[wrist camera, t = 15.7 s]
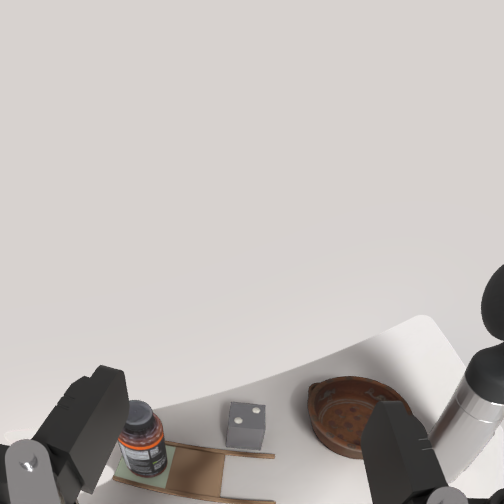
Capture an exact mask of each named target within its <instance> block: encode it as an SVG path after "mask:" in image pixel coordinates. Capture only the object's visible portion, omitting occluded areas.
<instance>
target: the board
mask: <svg viewBox="0 0 504 504" xmlns="http://www.w3.org/2000/svg"><path fill="white" fill-rule="evenodd" d="M165 447H166V453H167V460H168V463H167V467H166V469H165V470H164V472H163V473H161V474H160V475H158V476H155V477H152V478H144V477H140V476H137V475H135V474H133V473H132V472H131V471H130V470H129V469H128V467H127V465H126V463H125V460H124V458H123V455H122V457H121V460H120V462H119V465H118V467H117V470H116V472H115V475H113V480H115V481H119V482H122V483H125V484H129V485H133V486H136V487H140V488H144V489H148V490H153V491H157V492H161V493H166V494H171V495H176V496H181V497H187V498H193V499H199V500H206V501H214V502H222V503H231V504H276V502H268V501H250V500H238V499H227V498H220V492H221V484H222V475H223V467H224V459H225V455H232V456H242V457H254V458H268V459H274V458H275V454H260V453H247V452H237V451H228V450H219V449H212V448H205V447H198V446H192V445H186V444H180V443H175V442H170V441H165Z"/></svg>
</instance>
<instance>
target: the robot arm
mask: <svg viewBox="0 0 504 504" xmlns="http://www.w3.org/2000/svg"><path fill="white" fill-rule="evenodd" d="M481 314H482V319H483V322H484V325H485V327H486V329H487V330H488V331H489V333H490V334H491V335H492V336H494V337H496V338H497V339H500V340H503V341H504V265H502V266H501V267H500V268H499V269H498V270H497V271H496V272H495V273H494V274H493V276H492V277H491V279H490V280H489V282H488V284H487V286H486V288H485V291H484V293H483V297H482V302H481ZM129 409H130V404H129V398H128V392H127V387H126V381H125V375H124V372H123V371H122V370H118V369H114V368H110V367H107V366H103V365H100V366H99V367H98V368H97V369H96V370H95V372H94V373H93V375H92V376H91V377H90V378H89V377H86V376H83V377H82V378H80V379H78V380H77V381H75V382H74V383H72V384H71V385H70V387H69V388H68V389H67V391H66V392H65V394H64V396H63V397H62V398H61V399H60V400H59V402H58V403H57V406H55V407H54V409H53V410H52V411H51V413H50V414H49V416H48V417H47V418H46V420H45V421H44V423H43V424H42V425H41V427H40V428H39V430H38V431H37V433H36V434H35V435H34V437H33V438H32V439H31V440H29V439H24V440H19V441H16V442H15V443H13V444H12V445H11V446H7V445H2V444H0V504H79V503H78V500H77V497H78V494H79V492H80V490H82V491H84V492H87V493H90V494H92V493H93V491H94V489H95V487H96V485H97V482H98V480H99V478H100V476H101V474H102V472H103V469H104V467H105V465H106V463H107V461H108V459H109V457H110V455H111V452H112V450H113V448H114V446H115V444H116V442H117V440H118V438H119V436H120V434H121V431H122V429H123V427H124V425H125V423H126V421H127V419H128V415H129ZM503 419H504V342H503V343H501V344H499V345H496V346H493V347H490V348H486V349H483V350H480V351H479V352H477V353H476V354H475V355H474V356H473V358H472V359H471V361H470V363H469V365H468V367H467V369H466V371H465V373H464V375H463V377H462V379H461V381H460V383H459V385H458V386H457V388H456V390H455V392H454V394H453V396H452V397H451V399H450V401H449V403H448V404H447V406H446V408H445V409H444V411H443V413H442V414H441V416H440V418H439V419H438V421H437V422H436V424H435V426H434V427H433V429H432V430H431V432H430V433H429V435H427V433H426V430H425V428H424V426H423V424H422V423H421V422H420V421H419V420H418V419H417V418H416V417H415V416H414V415H408V413H407V411H406V409H405V406H404V404H403V403H402V402H401V401H379V402H377V404H376V405H375V407H374V409H373V412H372V414H371V416H370V418H369V420H368V422H367V424H366V426H365V428H364V430H363V432H362V435H361V451H362V455H363V460H364V464H365V469H366V473H367V478H368V483H369V487H370V492H371V497H372V502H373V504H504V488H503V489H500V490H498V491H497V492H495V493H494V494H493V495H492V496H491V497H490V498H489V499H476V498H466V496H465V495H464V493H462V492H461V491H460V490H458V489H456V488H453V487H449V486H448V484H447V483H450V482H452V481H454V480H455V479H456V478H457V477H458V476H459V475H460V474H461V473H462V472H463V471H465V470H466V469H467V468H468V467H469V465H470V464H471V463H472V462H473V461H474V459H475V458H476V457H477V456H478V455H479V453H480V452H481V451H482V450H483V448H484V447H485V446H486V445H487V443H488V442H489V441H490V439H491V438H492V437H493V435H494V433H495V430H496V429H497V427H498V426H499V424H500V423H501V421H502V420H503Z"/></svg>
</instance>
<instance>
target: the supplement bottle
mask: <svg viewBox="0 0 504 504" xmlns="http://www.w3.org/2000/svg"><path fill="white" fill-rule="evenodd" d="M129 404H130V409H129V415H128V419H127V421H126V423H125V425H124V427H123V429H122V431H121V434H120V436H119V438H118V442H119V446H120V449H121V452H122V455H123V458H124V460H125V463H126V465H127V467H128V469H129V470H130V471H131V472H132V473H133V474H135V475H137V476H140V477H144V478H152V477H155V476H158V475H160V474H161V473H163V472H164V470H165V469H166V467H167V463H168V460H167V453H166V447H165V440H164V433H163V426H162V423H161V421H160V419H159V418H158V416H157V415H155V414H154V413H153V412H152V409H151V407H150V406H149V405H148V404H147V403H145V402H142V401H139V400H131V401H129Z"/></svg>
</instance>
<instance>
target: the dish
mask: <svg viewBox="0 0 504 504" xmlns="http://www.w3.org/2000/svg"><path fill="white" fill-rule="evenodd" d="M308 396H309V398H308V411H309V415H310V418H311V423H312V427H313V430H314V432H315V434H316V435H317V437H318V438H319V440H320V441H321V442H322V443H323V444H324V445H325V446H327V447H328V448H329V449H330V450H332V451H334V452H335V453H337V454H340V455H343V456H346V457H349V458H352V459H363V455H362V451H361V435H362V432H363V430H364V428H365V426H366V424H367V422H368V420H369V418H370V416H371V414H372V412H373V409H374V407H375V405H376V404H377V402H379V401H401V402H402V403H403V404H404V406H405V409H406V411H407V413H408V415H413V414H412V411H411V409H410V407H409V406H408V404H407V402H406V401H405V400H404V399H403V398H402V397H401V396H400V395H399V394H398V393H397V392H396V391H395V390H394V389H392V388H390V387H389V386H387V385H385V384H382V383H380V382H378V381H375V380H372V379H368V378H363V377H356V376H345V377H336V378H332V379H328V380H325V381H323V382H321V383H314V384H312V385H311V386H310V387H309V390H308Z"/></svg>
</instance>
